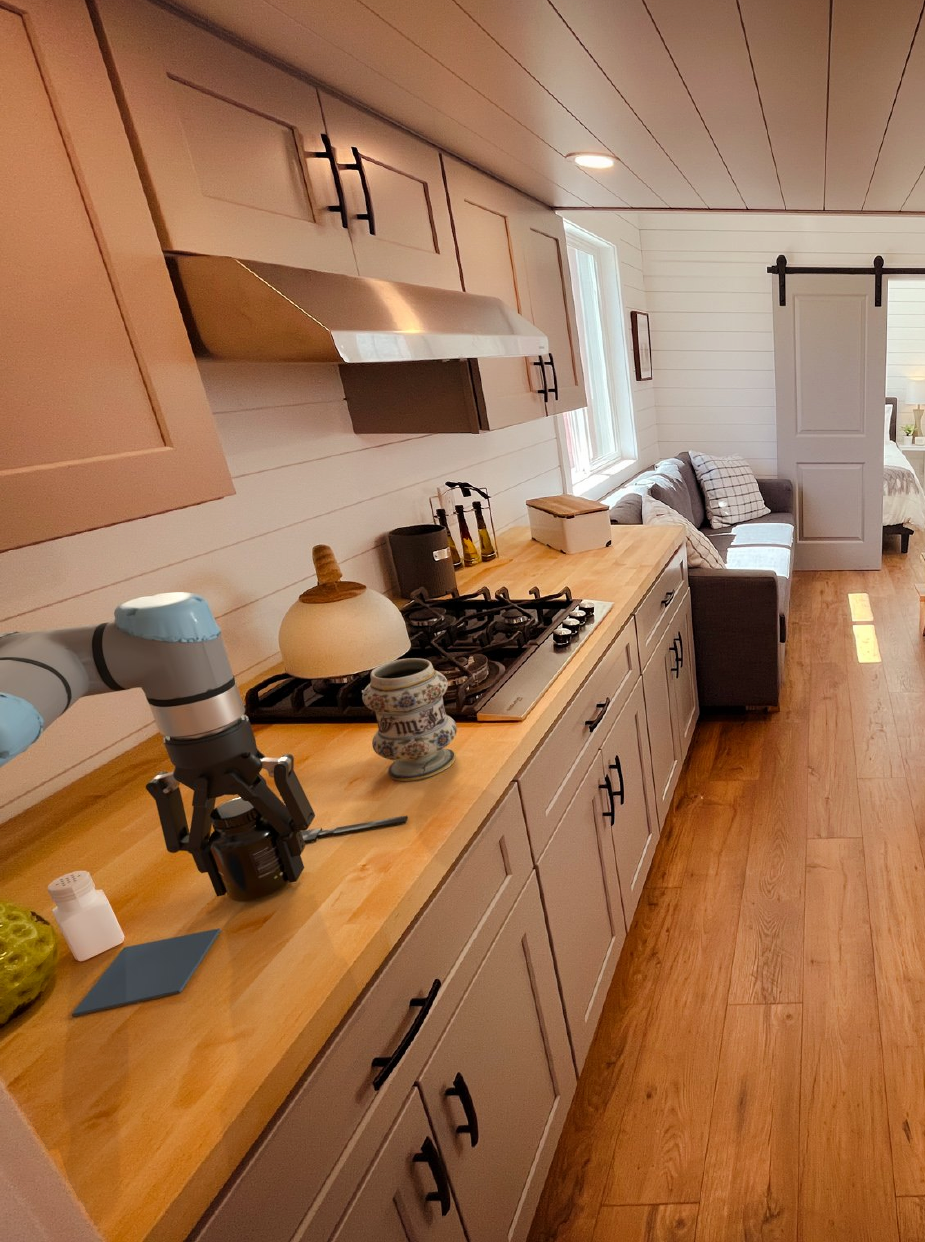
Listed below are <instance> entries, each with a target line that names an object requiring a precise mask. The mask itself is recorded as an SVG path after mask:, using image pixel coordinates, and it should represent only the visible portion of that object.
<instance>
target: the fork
mask: <svg viewBox="0 0 925 1242" xmlns="http://www.w3.org/2000/svg"><path fill="white" fill-rule="evenodd" d="M408 818H409V817H408V815H402V816H396V817H391V818H384V819H379V820H378V819H377V820H371V821H367V822H360V823H355V824H350V825H348V824H347V825H343V826H337V827H335V828H329V829H324V830H323V828H322V827H318V828H312V829H307V830H305V831H301V833H302V836H303V839H304V842H305V844H309V843H310V844H311V843H315V842H317V841H318V840H319V839H320V838H325V837H326V838H327V837H333V836H334V837H336V836H343V835H349V834H354V833H360V832H366V831H371V830H377V829H382V828H383V829H384V828H387V827H388V828H389V827H393V826H399V825H405V824H406V823H407V821H408Z"/></svg>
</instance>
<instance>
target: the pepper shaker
mask: <svg viewBox="0 0 925 1242" xmlns="http://www.w3.org/2000/svg"><path fill="white" fill-rule="evenodd" d="M47 885H48V886H47V887H46V890H47V892H48V894H49V896H50V898H51V901H52V902H53V904H55V905H56V906H55V907H54V908H53V909H51V913H52V915H53V917H54V919H55V921H56V923H57V926H58V928H59V930H60V932H61V933H62V935H63V938H64V940H65V942H66V943H67V945H68V947H69V950H70V952H71V954H72V956H73V957H74V959H75V960H76V961H78V962H84V961H87V960H89V959H91V958H93V957H96V956H97V955H100V954H102V953H103V952H106V951H108V950H111V949H113V948H115V947H116V946H119V945H120V944H122V943H123V942H124V941H125V937H126V936H125V934H124V932H123V929H122V927H121V925H120V923H119V921H118V919H117V917H116V914H115V912H114V910H113V908H112V905H111V904H110V901H109V899H108V897H107V896H106V894H105V892H104V890H103V889H101V888H100V889H96V885H95V883H94V881H93V878H92V876H91V873H90V872H89V871H86V870H76V871H72V872H68V873H65V874H63V875H61V876H59V877H57V878H55V879H54V880H53V881H51V882H50V883H48V884H47Z"/></svg>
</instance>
